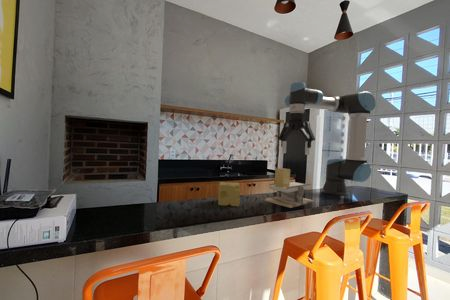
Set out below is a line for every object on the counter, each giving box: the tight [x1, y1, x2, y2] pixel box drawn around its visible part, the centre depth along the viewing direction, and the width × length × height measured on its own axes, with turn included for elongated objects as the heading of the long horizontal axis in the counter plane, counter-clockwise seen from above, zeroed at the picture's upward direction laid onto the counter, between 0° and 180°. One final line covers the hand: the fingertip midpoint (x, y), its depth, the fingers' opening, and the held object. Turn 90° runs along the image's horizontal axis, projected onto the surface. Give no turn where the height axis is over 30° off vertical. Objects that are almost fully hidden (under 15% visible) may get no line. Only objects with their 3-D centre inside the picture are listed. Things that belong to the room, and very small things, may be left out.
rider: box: [274, 167, 291, 188], centre depth 120 cm, size 6×5×9 cm
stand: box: [264, 187, 314, 209], centre depth 125 cm, size 22×16×9 cm
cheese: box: [217, 181, 241, 207], centre depth 115 cm, size 10×11×10 cm
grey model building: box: [268, 180, 311, 194], centre depth 125 cm, size 22×11×6 cm, turn 132°
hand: (295, 153), depth 121 cm, fingers open, 13 cm apart
